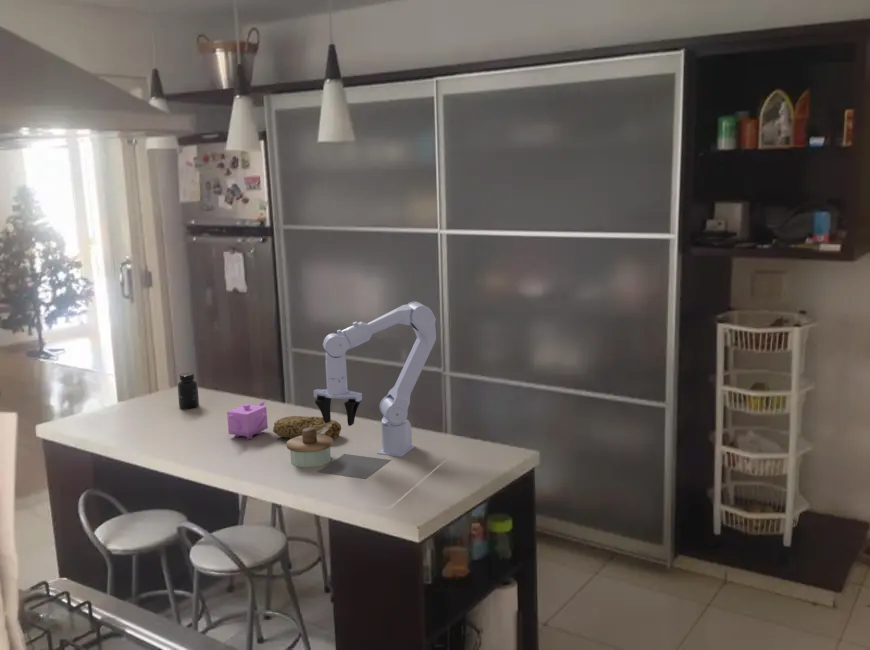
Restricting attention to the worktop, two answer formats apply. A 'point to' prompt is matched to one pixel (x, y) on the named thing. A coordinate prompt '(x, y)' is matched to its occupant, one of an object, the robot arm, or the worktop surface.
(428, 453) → the worktop surface
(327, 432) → the sponge
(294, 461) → the bowl
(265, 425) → the teapot
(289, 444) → the lid
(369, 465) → the mat
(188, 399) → the supplement bottle
